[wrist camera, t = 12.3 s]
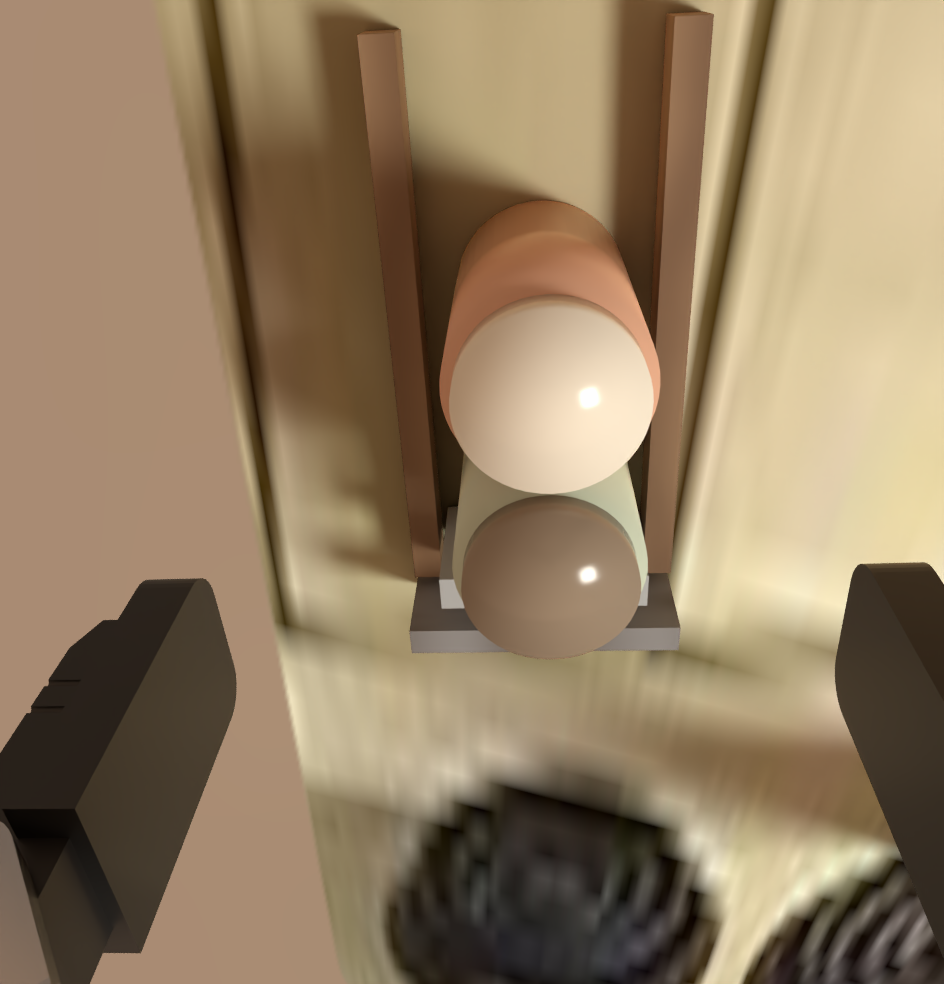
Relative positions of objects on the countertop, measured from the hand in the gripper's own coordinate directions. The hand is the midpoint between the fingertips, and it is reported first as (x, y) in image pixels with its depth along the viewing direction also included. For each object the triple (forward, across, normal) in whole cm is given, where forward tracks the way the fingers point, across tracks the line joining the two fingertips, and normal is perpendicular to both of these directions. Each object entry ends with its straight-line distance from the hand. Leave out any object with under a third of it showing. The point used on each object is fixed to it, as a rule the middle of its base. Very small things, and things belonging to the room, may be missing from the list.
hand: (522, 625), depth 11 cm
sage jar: (+19, 0, +7) cm, 20 cm away
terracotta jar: (+19, 0, +2) cm, 19 cm away
